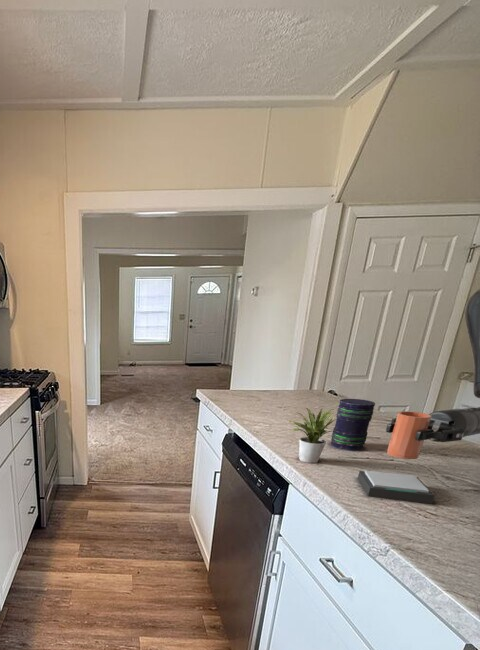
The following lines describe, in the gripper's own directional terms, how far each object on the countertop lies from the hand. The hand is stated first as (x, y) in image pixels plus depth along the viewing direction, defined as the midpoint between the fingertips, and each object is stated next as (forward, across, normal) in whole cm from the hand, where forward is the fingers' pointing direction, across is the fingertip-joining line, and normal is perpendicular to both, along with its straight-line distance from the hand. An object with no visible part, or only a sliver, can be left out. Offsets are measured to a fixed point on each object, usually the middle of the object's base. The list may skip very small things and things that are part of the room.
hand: (402, 432), depth 94 cm
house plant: (-2, -25, +16) cm, 30 cm away
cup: (-2, 0, +6) cm, 6 cm away
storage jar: (-23, -30, +16) cm, 41 cm away
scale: (-2, 0, +15) cm, 15 cm away
